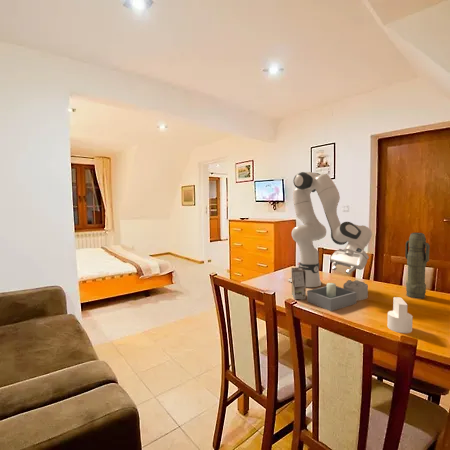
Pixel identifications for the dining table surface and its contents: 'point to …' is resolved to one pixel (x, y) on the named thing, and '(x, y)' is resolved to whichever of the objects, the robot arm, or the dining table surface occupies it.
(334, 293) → the tin
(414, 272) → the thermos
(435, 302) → the dining table surface
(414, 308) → the dining table surface
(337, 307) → the tote
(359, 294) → the lumpy-topped squat cylinder
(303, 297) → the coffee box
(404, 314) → the base with upright slab
